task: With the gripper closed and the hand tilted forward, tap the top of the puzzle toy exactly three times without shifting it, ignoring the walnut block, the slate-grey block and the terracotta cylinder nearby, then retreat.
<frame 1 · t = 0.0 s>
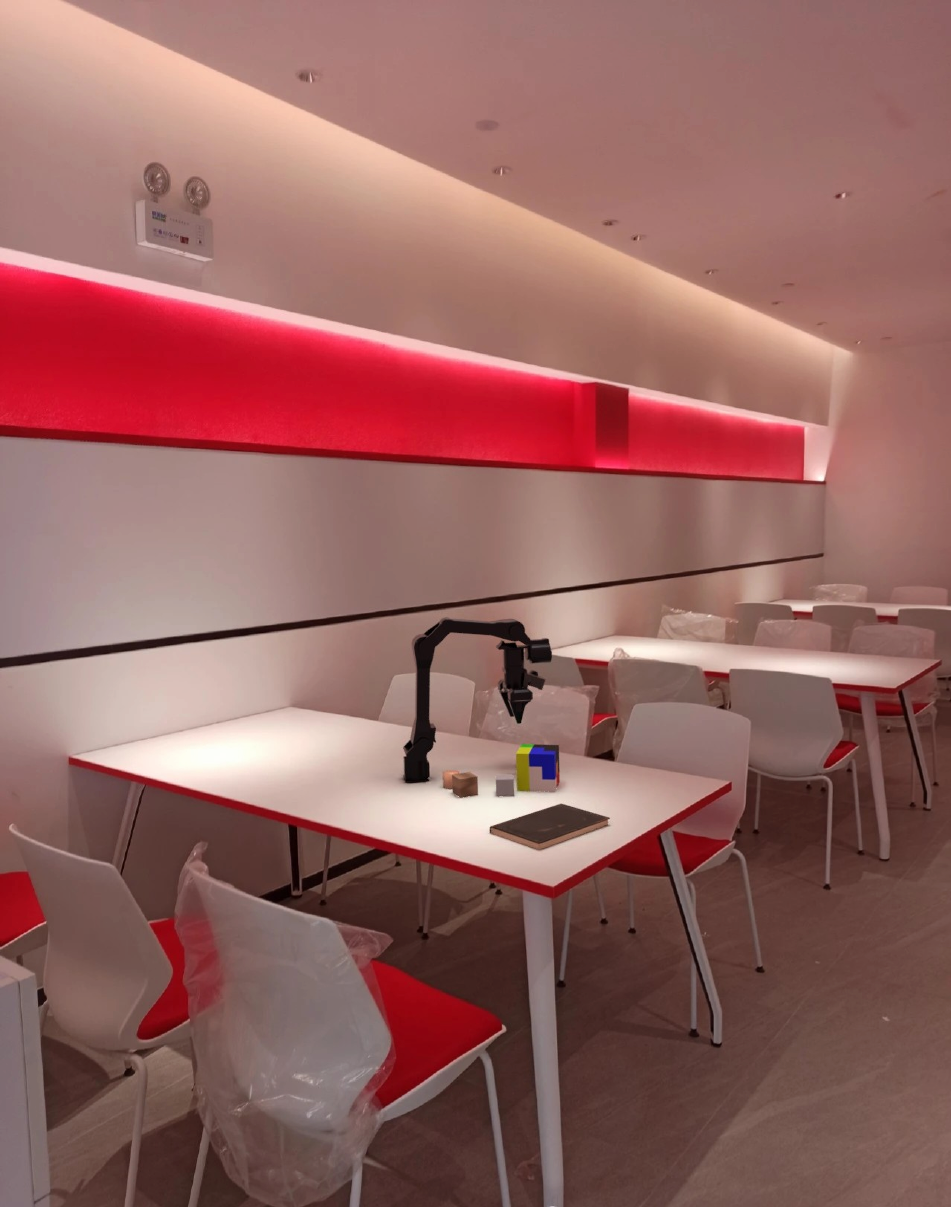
hand: (515, 720, 263), 15 cm above the table, tool pointing down, fingers open, 9 cm apart
terracotta cylinder: (451, 786, 252), on the table
puzzle toy: (538, 787, 250), on the table
slate block: (505, 794, 244), on the table
walnut block: (465, 794, 245), on the table
hardcover book: (550, 832, 216), on the table
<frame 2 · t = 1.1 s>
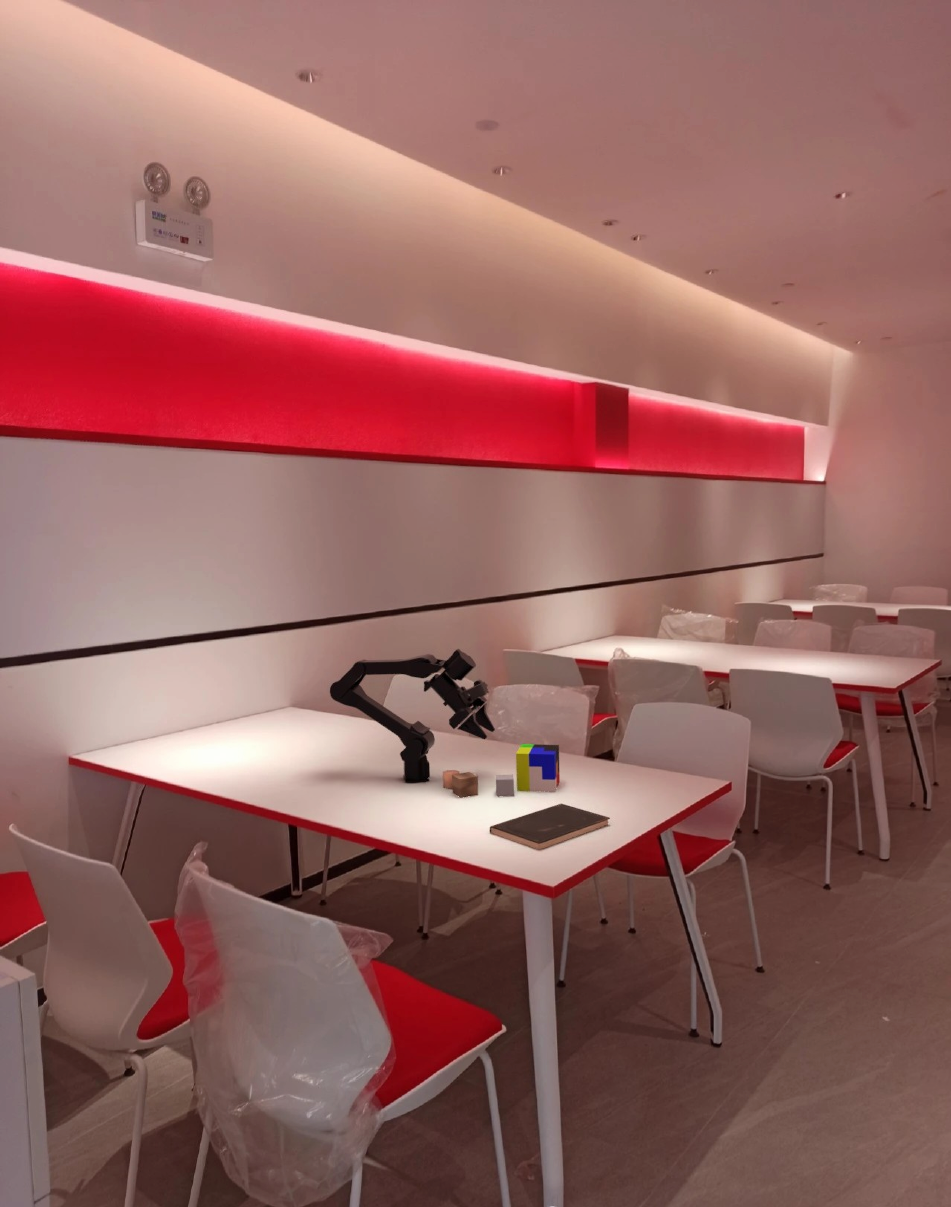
hand: (489, 734, 253), 13 cm above the table, tool tilted 45°, fingers open, 8 cm apart
nothing on the table moved.
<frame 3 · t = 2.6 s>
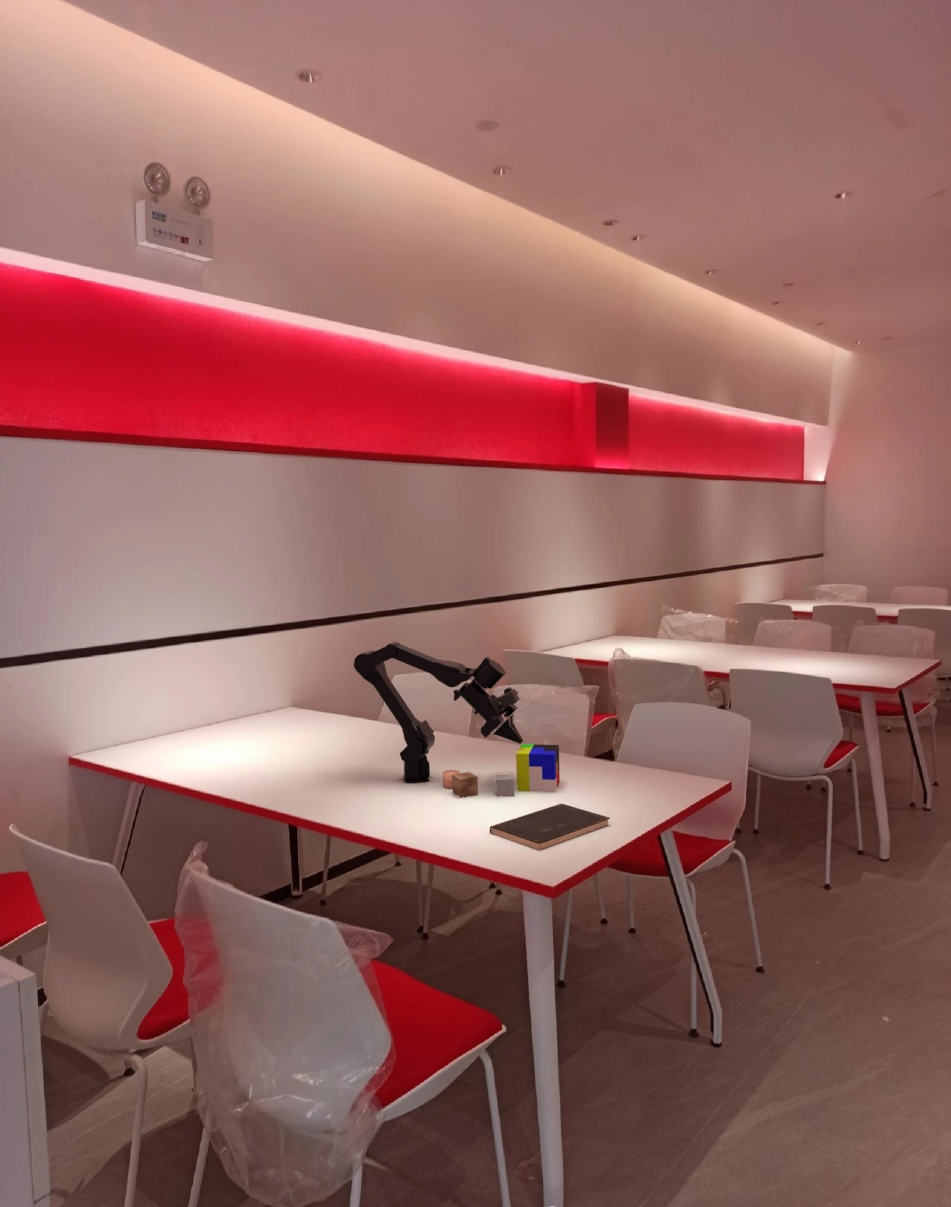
hand: (521, 742, 250), 12 cm above the table, tool tilted 45°, fingers closed
nothing on the table moved.
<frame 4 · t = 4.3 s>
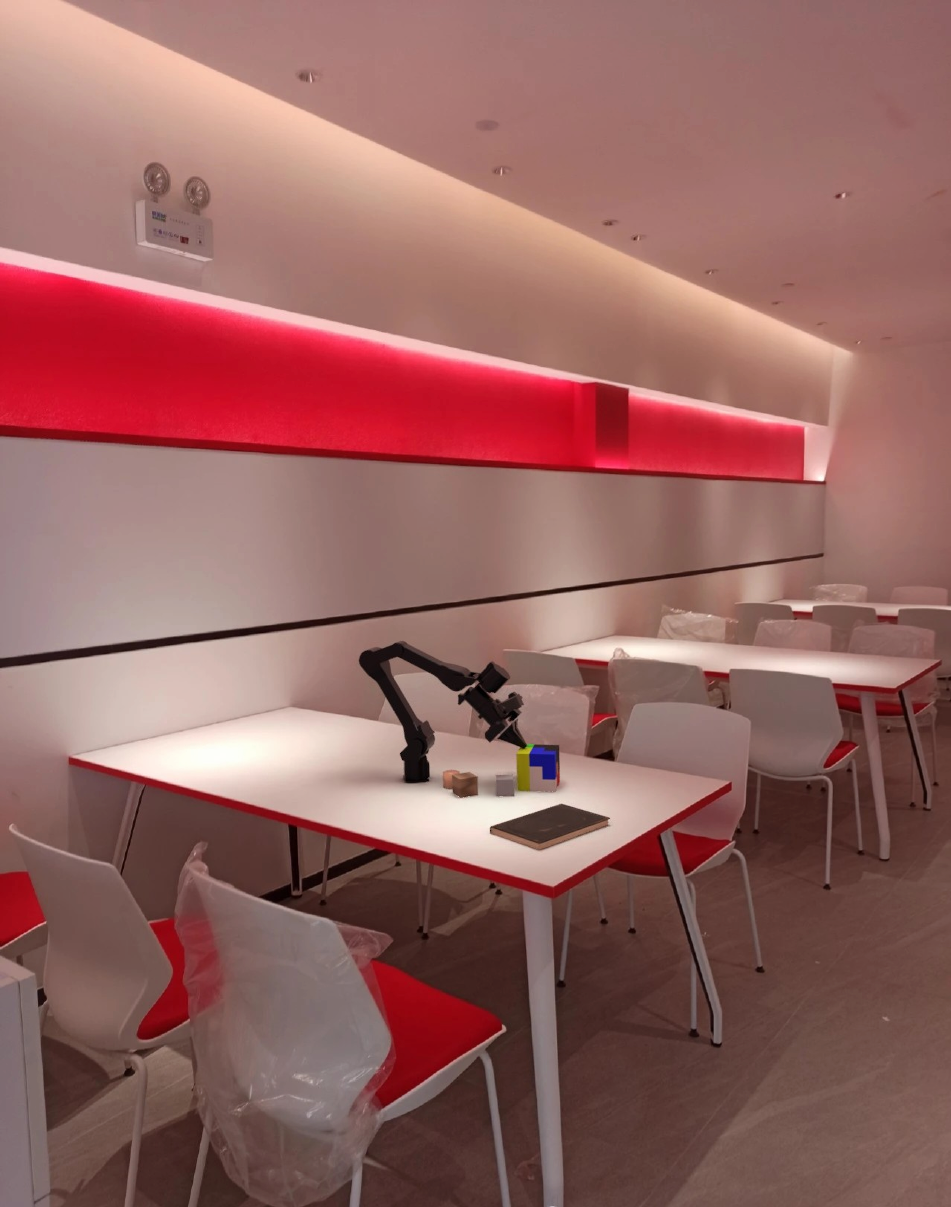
hand: (525, 747, 250), 10 cm above the table, tool tilted 45°, fingers closed
nothing on the table moved.
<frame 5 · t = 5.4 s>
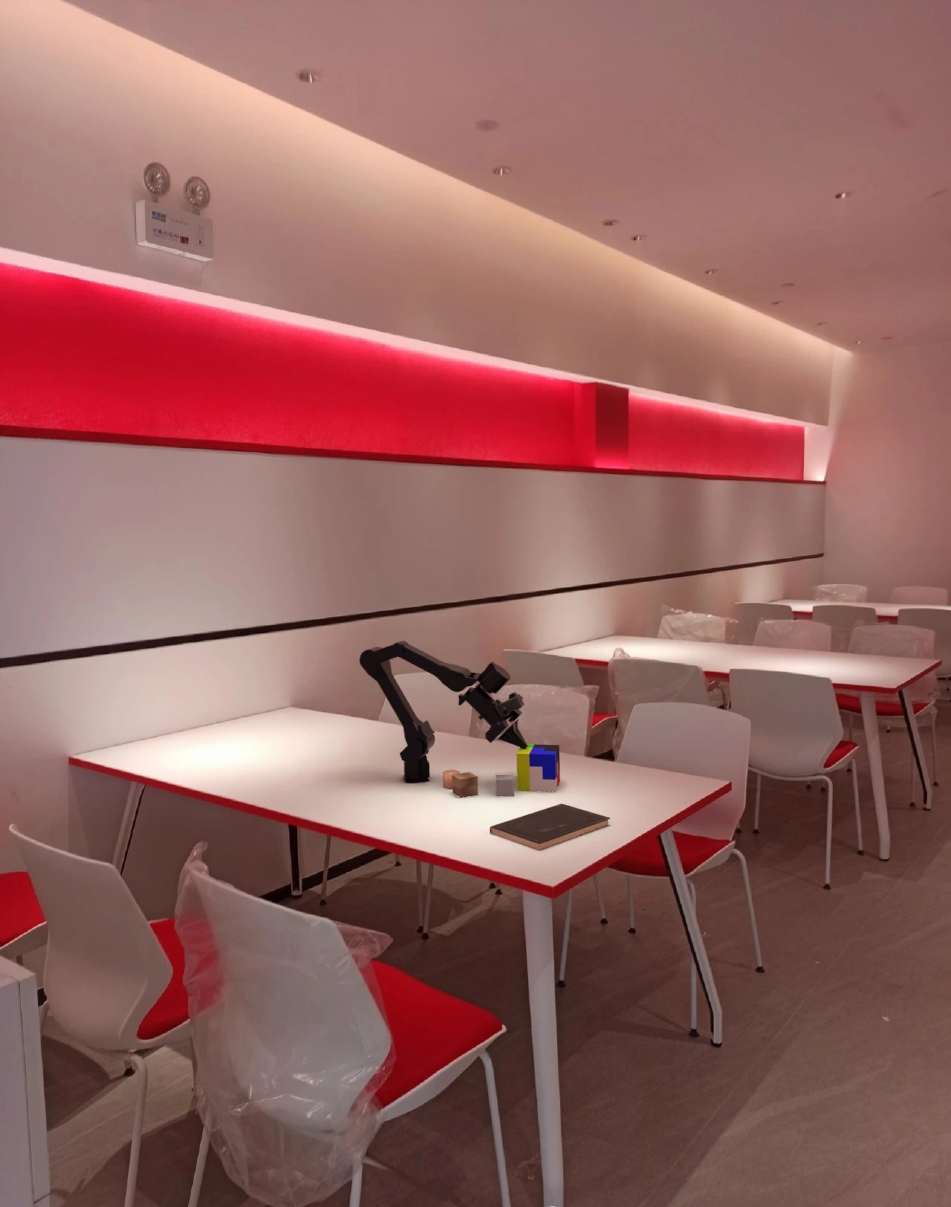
hand: (526, 747, 250), 10 cm above the table, tool tilted 45°, fingers closed, pressing on puzzle toy
puzzle toy: (539, 787, 250), on the table, touching gripper
everything else where it was.
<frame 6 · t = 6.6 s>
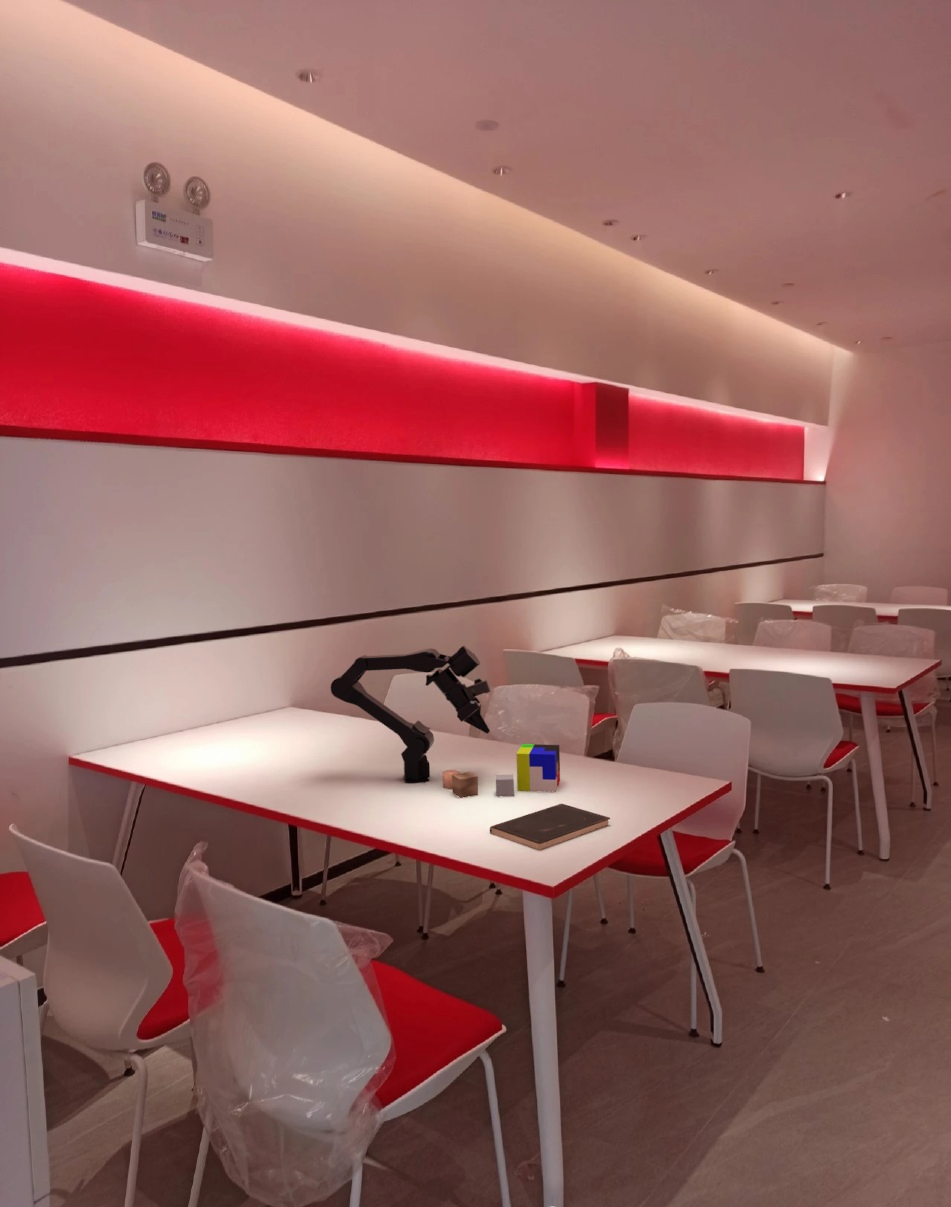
hand: (488, 732, 255), 13 cm above the table, tool tilted 40°, fingers closed
puzzle toy: (539, 787, 250), on the table
everything else where it was.
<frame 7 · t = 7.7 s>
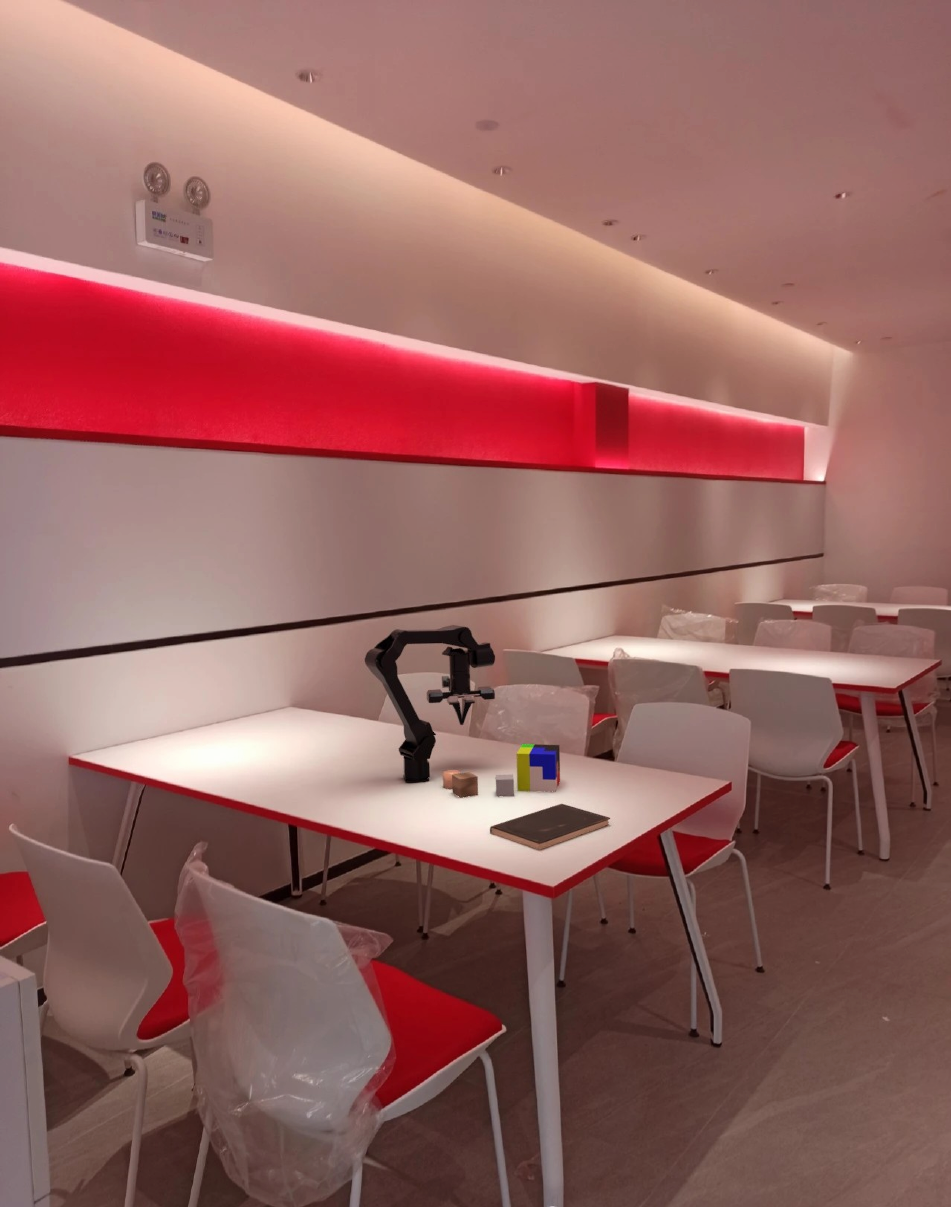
hand: (461, 724, 266), 13 cm above the table, tool pointing down, fingers closed
nothing on the table moved.
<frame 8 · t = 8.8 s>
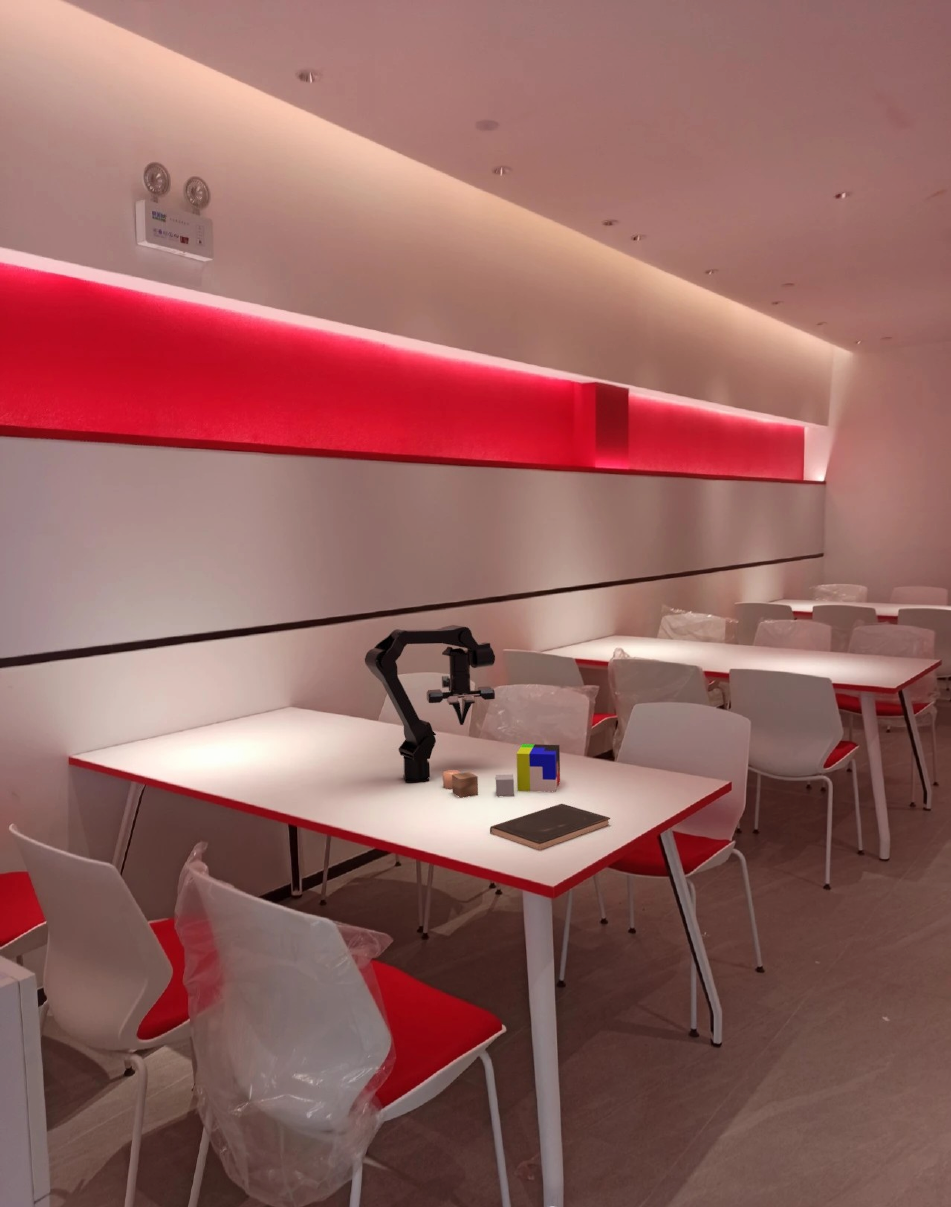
hand: (461, 724, 267), 13 cm above the table, tool pointing down, fingers closed
nothing on the table moved.
at the end: puzzle toy moved 0.3 cm from its start; puzzle toy tilted 0°; walnut block moved 0.1 cm from its start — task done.
